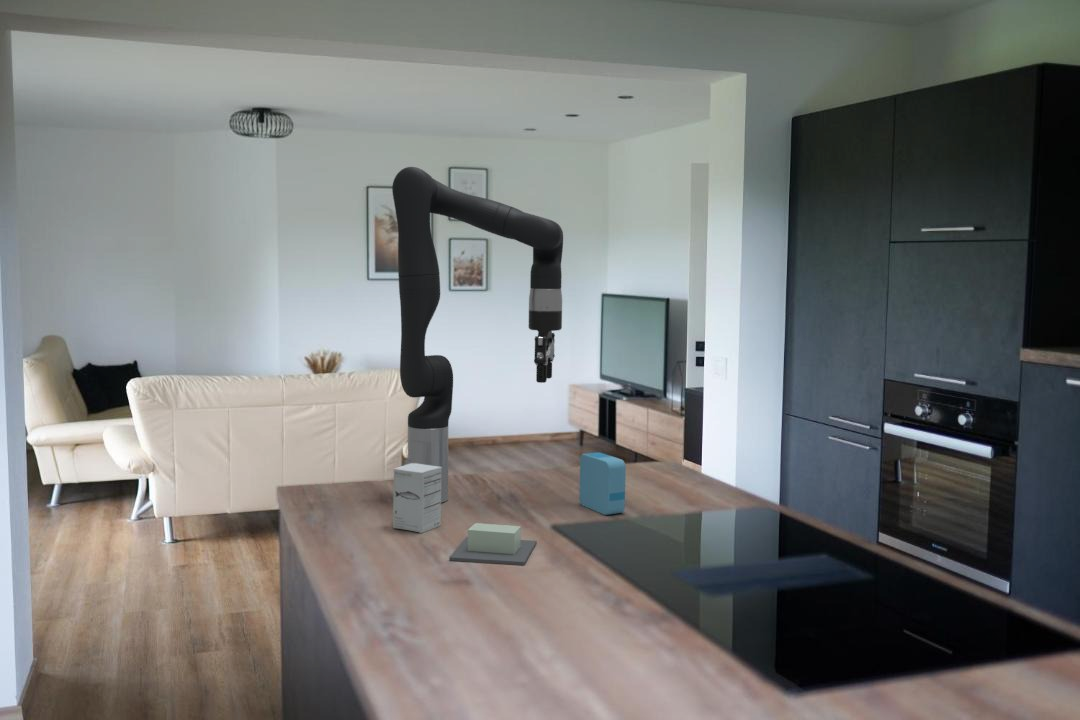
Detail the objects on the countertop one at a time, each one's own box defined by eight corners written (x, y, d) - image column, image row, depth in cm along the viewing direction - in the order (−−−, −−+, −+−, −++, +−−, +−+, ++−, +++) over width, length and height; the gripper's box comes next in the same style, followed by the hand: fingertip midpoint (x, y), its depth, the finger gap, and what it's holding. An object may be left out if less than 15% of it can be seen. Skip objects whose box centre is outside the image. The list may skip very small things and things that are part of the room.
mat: (449, 560, 181) (449, 557, 181) (466, 539, 195) (466, 536, 195) (524, 565, 179) (524, 562, 179) (536, 543, 193) (536, 540, 193)
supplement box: (391, 528, 202) (392, 468, 201) (412, 520, 208) (413, 461, 207) (421, 533, 198) (422, 472, 197) (442, 525, 205) (442, 465, 204)
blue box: (625, 514, 217) (626, 460, 215) (607, 516, 214) (609, 462, 213) (595, 502, 227) (596, 451, 226) (578, 504, 225) (579, 452, 224)
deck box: (514, 554, 183) (514, 533, 183) (467, 550, 185) (467, 529, 185) (520, 546, 188) (520, 526, 188) (475, 543, 190) (475, 523, 190)
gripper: (557, 310, 215) (556, 384, 216) (565, 307, 229) (564, 377, 230) (523, 309, 216) (522, 383, 218) (533, 307, 230) (532, 376, 232)
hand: (544, 380), depth 224 cm, fingers open, 8 cm apart
